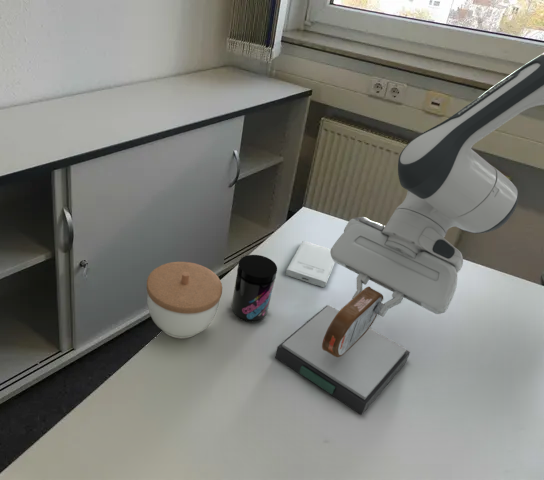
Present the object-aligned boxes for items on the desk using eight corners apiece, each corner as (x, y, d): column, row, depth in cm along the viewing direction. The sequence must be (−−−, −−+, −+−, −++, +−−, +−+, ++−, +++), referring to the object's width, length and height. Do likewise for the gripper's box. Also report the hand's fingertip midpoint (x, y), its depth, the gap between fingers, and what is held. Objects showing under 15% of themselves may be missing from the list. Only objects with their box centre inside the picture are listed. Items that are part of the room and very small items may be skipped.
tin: (361, 316, 94) (372, 276, 90) (378, 325, 92) (390, 284, 88) (316, 359, 84) (325, 317, 80) (334, 369, 82) (344, 327, 78)
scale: (405, 362, 92) (411, 349, 90) (360, 416, 81) (365, 402, 79) (324, 315, 100) (327, 302, 98) (273, 358, 90) (276, 345, 88)
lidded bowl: (161, 358, 87) (165, 305, 81) (133, 309, 97) (136, 259, 91) (229, 339, 92) (238, 289, 86) (196, 295, 102) (202, 246, 96)
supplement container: (231, 322, 96) (240, 276, 90) (229, 298, 102) (237, 253, 96) (269, 325, 96) (280, 279, 91) (264, 301, 102) (274, 256, 96)
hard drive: (337, 257, 117) (324, 288, 107) (300, 246, 119) (285, 274, 110) (339, 251, 116) (326, 281, 106) (302, 240, 118) (286, 268, 109)
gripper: (351, 205, 93) (309, 273, 92) (472, 258, 82) (425, 336, 81) (357, 219, 98) (316, 283, 97) (471, 271, 87) (427, 344, 86)
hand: (367, 308), depth 89 cm, fingers closed on tin, 2 cm apart
